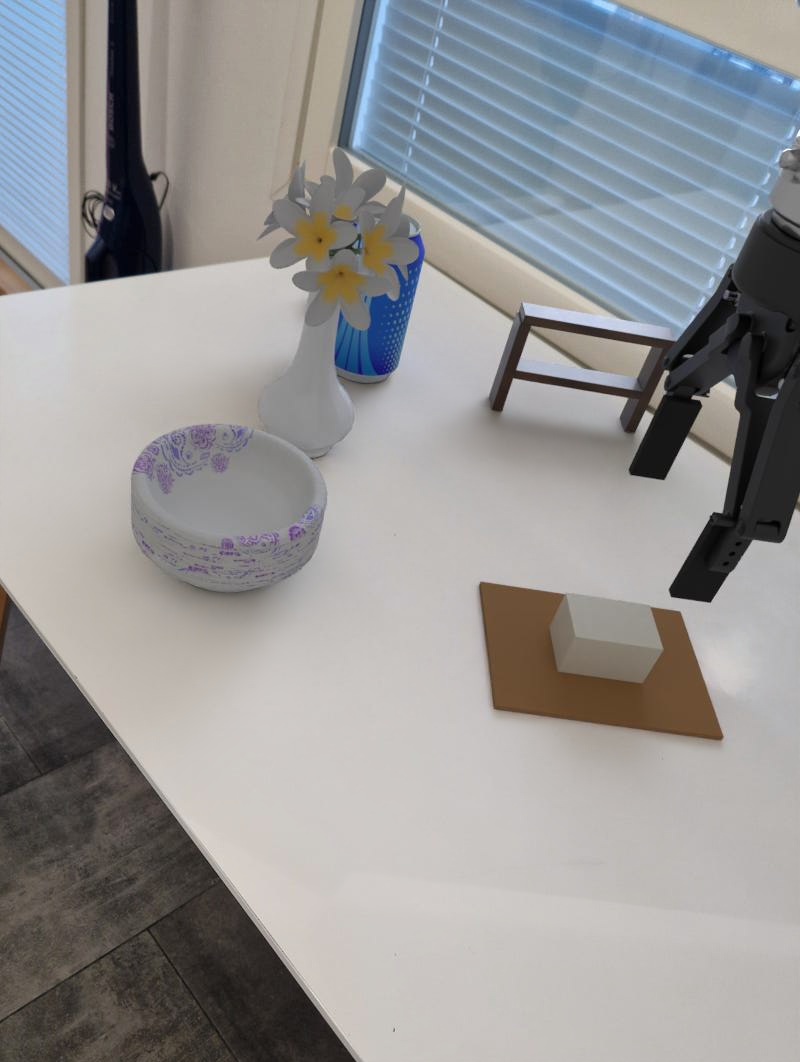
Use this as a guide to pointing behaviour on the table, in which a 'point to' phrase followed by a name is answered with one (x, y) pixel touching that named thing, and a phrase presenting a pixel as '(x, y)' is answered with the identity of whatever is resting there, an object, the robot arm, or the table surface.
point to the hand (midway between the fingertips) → (665, 531)
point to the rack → (579, 378)
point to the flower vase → (331, 292)
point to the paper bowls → (226, 506)
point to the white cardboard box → (605, 638)
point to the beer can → (379, 325)
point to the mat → (538, 688)
